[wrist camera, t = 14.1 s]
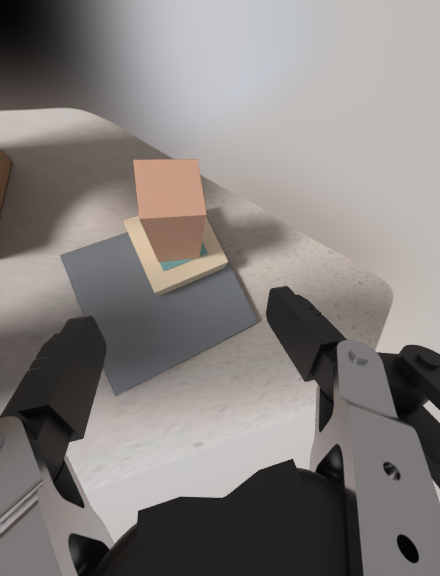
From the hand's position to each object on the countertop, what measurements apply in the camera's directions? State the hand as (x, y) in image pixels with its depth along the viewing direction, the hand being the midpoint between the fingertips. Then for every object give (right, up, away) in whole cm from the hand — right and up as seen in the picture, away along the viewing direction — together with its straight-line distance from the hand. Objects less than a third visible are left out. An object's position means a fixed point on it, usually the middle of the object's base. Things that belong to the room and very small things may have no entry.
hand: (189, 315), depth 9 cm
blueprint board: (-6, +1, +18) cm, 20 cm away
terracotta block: (-4, +7, +16) cm, 18 cm away
